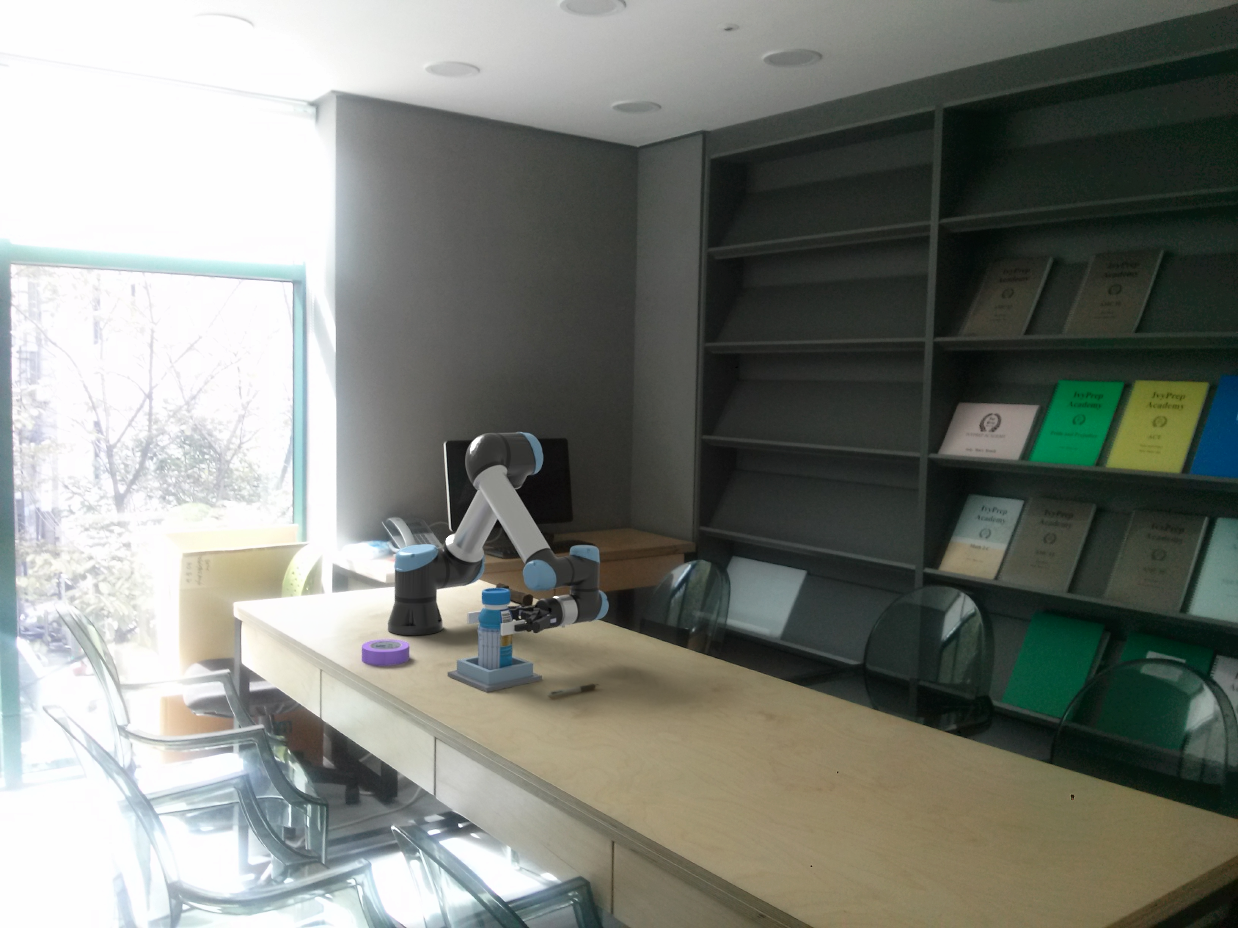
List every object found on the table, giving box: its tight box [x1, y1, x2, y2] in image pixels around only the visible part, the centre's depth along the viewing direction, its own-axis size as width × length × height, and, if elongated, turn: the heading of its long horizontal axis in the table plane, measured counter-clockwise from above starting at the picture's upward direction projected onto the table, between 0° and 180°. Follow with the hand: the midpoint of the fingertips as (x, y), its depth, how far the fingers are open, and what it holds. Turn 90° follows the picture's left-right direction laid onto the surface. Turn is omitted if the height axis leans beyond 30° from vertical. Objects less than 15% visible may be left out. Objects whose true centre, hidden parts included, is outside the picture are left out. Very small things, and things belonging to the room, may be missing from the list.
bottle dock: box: [447, 655, 543, 693], centre depth 241 cm, size 16×16×4 cm
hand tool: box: [495, 582, 534, 607], centre depth 328 cm, size 19×4×5 cm, turn 37°
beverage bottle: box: [477, 587, 514, 670], centre depth 241 cm, size 8×8×20 cm
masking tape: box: [361, 638, 410, 666], centre depth 255 cm, size 12×12×4 cm
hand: (484, 623), depth 238 cm, fingers open, 13 cm apart
